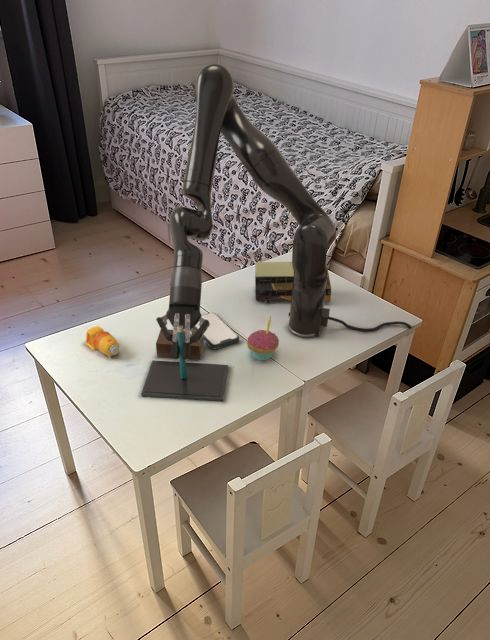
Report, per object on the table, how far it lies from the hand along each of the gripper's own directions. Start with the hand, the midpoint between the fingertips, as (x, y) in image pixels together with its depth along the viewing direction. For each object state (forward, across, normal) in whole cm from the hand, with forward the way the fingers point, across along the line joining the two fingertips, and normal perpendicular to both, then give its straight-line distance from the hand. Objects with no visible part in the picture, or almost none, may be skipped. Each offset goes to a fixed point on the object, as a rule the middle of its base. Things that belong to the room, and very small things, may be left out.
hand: (180, 358), depth 130 cm
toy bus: (-27, -27, -40) cm, 55 cm away
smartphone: (-11, -5, -24) cm, 27 cm away
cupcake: (-4, -19, -17) cm, 26 cm away
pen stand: (-4, +3, -17) cm, 17 cm away
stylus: (+4, 0, -7) cm, 8 cm away
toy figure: (-3, +24, -16) cm, 28 cm away
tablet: (+5, -1, -8) cm, 9 cm away
